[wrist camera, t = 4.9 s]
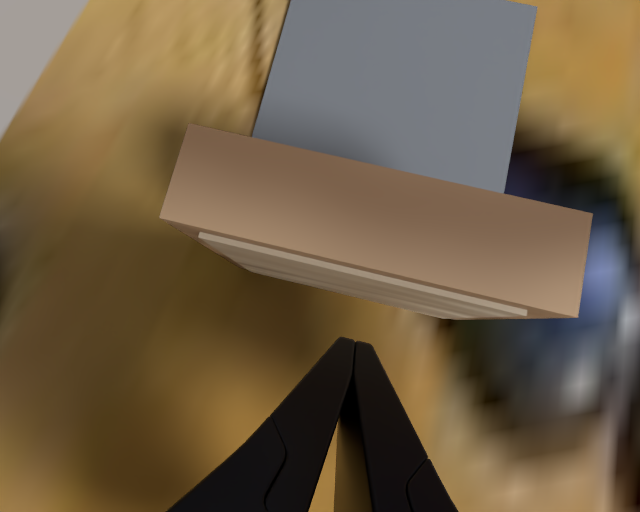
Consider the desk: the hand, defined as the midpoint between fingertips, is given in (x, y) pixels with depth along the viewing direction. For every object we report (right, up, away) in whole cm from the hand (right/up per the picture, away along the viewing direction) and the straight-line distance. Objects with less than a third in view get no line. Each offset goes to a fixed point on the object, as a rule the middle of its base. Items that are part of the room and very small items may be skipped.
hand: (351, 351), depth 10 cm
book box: (+1, +2, +8) cm, 9 cm away
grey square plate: (+3, +10, +9) cm, 14 cm away
